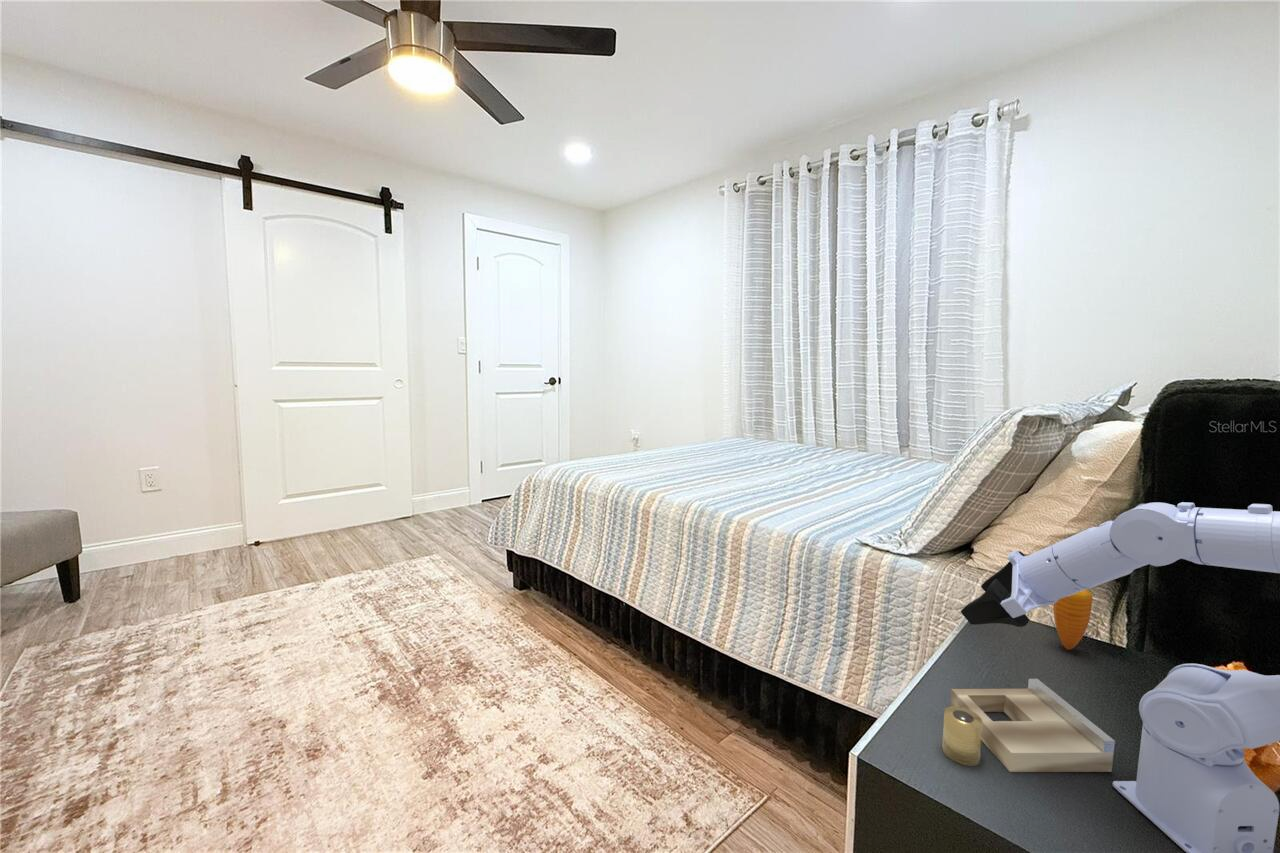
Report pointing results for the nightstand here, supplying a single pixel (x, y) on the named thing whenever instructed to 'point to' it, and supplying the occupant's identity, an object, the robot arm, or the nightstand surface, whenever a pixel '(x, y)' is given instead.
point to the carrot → (1072, 617)
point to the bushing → (962, 735)
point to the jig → (1038, 730)
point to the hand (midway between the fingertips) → (977, 603)
